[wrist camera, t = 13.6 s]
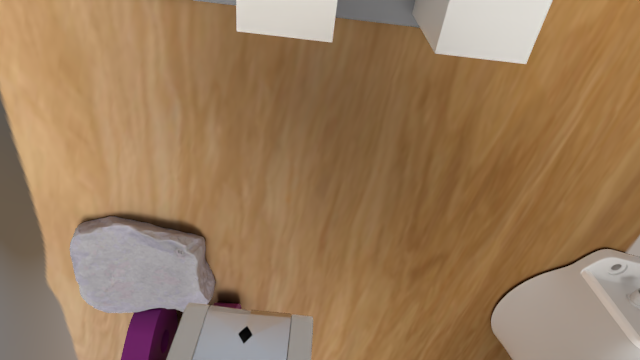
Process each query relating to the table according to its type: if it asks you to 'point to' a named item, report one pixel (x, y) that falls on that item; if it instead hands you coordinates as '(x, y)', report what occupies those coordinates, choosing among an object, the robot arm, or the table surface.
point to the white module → (288, 18)
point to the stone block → (139, 266)
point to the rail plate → (368, 10)
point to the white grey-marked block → (482, 27)
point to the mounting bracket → (154, 333)
